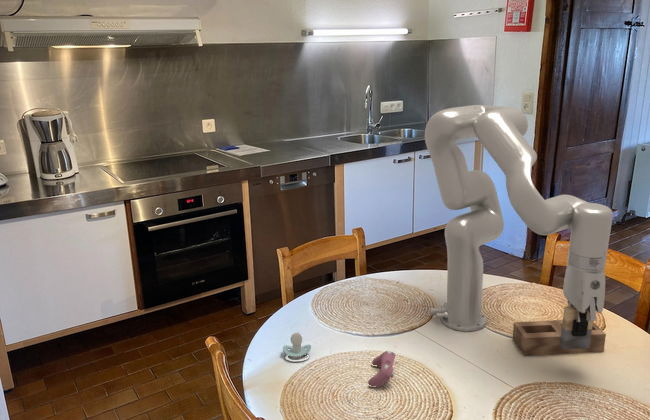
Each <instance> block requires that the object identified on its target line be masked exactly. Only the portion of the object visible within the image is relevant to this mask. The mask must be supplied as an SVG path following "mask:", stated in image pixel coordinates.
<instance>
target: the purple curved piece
mask: <svg viewBox="0 0 650 420" xmlns="http://www.w3.org/2000/svg"><path fill="white" fill-rule="evenodd" d="M395 359H396V353H394V351H388V350H385V351H383V353H381V354H379V355H378V356H377V357H375V358H374V359H373V360H372V361H371V364H373V365H377V366H381V367H380V371H378V373H377V374H375V375H374V376H371V378H370V379H369V380H368V382H367V384H369V385H371V386H379V387H381V386H382V385H384V384H385V383H387V382H389V380H391V379H393V378H394V377H395V373H394V372H393V371H394V367H393V366H394V362H395ZM373 365H372V366H373ZM369 385H368V386H369Z"/></svg>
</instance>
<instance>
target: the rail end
mask: <svg viewBox="0 0 650 420" xmlns="http://www.w3.org/2000/svg"><path fill="white" fill-rule="evenodd" d="M576 312H577V309H576V308H575V307H574V306H568V305H567V306H564V308H563V315H562V320H563V322H562V329H561V337H560V344H559V345H560V346H561V347H562V348H563V349H586V348H589V346H590V339H591V333H592V326H593V322H594V321H590V322H588V328H587V335H586V336H573V335H572V327H573V320H576ZM582 314H586V313H581V315H582Z"/></svg>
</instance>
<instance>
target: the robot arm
mask: <svg viewBox="0 0 650 420" xmlns="http://www.w3.org/2000/svg"><path fill="white" fill-rule="evenodd" d="M528 127H529V122H528V119H527V116H526V115H525V114H524V112H522V110H521V109H518V108H516V107H512V106H498V105H487V104H486V105H485V104H471V105H464V106H463V105H462V106H456V107H450V108H449V107H448V108H445V109H442V110H440V111H437V112H436V113H434V114H433V115H432V116H431V117H430V118H429V119H428V121H427V122H426V125H425V130H424V141H425V145H426V148H427V152H428V154H429V156H430V159H431V161H432V166H433V168H434V172H435V173H434V174H435V178H436V182H437V185H438V189H439V193H440V197H441V201H442V203H443V204H444V206H445V208H447V209H448V210H450V211H459V210H464V209H467V208H470V210H471V211H468V212H466V213H465V212H464V213H462V214H458V215H457V216H454V217H453V218H451V219H450V220H449V221H448V223H447V224H446V225H445V228H444V238H445V245H446V250H447V251H446V253H447V277H446V278H447V279H446V280H447V283H446V284H447V286H446V289H447V290H446V302H444V303H443V306H442V305H441V306H440V307H429V314H430V315H435V317H436V318H440V319H441V320H440V321H441V323H442V324H443V325H444V326H446V327H448V328H449V329H452V330H455V331H460V332H474V331H479V330H481V329H483V328H484V327H486V326H487V322H488V320H487V316H486V315H485V314H484V313H483V312H482V305H483V302H482V301H483V281H484V279H483V278H484V260H483V257H482V254H481V252H480V246H483V245H485V244H487V243H488V244H489V243H491V242H493V241H495V240H497V239H498V238H500V237H501V236H502V234H503V231H504V227H505V226H504V225H505V224H504V222H505V221H504V218H503V217H504V216H503V213H502V209H501V205H500V201H499V196H498V191H497V190H496V189H497V188H496V185H495V183H494V181H493V179H492V178H491V176H489V174H487V173H486V172H485V171H483V170H480V169H478V170H477V169H474V170H469V168H468V165H467V162H466V157H465V155H464V153H463V151H462V150H461V149H460V147H459V146H458V145H457V144H456V142H457V141H459V140H466V139H469V138H470V139H472V138H477V140H478V141H479V142H480V143H481V145H482V146H483V147H484V149H485V150H486V152H487V153H488V154H489V156H490V157H491V158H492V159H493V161H494V162H495V163H496V165H497V166H498V168H500V169H501V171H502V172H503V174H504V176H505V186H506V188H505V189H506V190H507V197H508V199H509V202H510V205H511V207H512V208H513V210H514V211H515V213H516V214H517V215H518V217H519V218H520V220H522V222H523V223H524V224H525V226H527V228H528V229H530V230H531V231H532V232H534V233H535V234H537V235H540V236H550V235H552V234H555V233H557V232H560V231H563V230H567V229H570V230H571V231H570V238H569V245H568V254H567V260H566V264H567V265H566V269H565V274H564V279H563V286H562V294H563V296H564V297H565V299H566V300H567V306H574V307H575V308H576V309H577V312H576V320H573V327H572V335H573V336H586V335H587V328H588V322H590V321H593V322H596V321H597V313H599V314H601V313H603V311H604V307H605V306H604V305H605V298H606V297H605V296H606V273H605V268H606V262H607V255H608V250H609V245H610V244H609V242H610V236H611V230H612V223H613V210H612V208H610V207H609V206H607V205H604V204H602V203H595V202H589V201H586V200H584V199H581V198H579V197H577V196H574V195H570V194H560V195H557V196H553V197H550V198H547V199H544V197H543V196H542V195H541V194H540V192H539V191H538V190H537V188H536V186H535V185H534V183H533V180H532V176H531V172H532V167H533V166H534V165H535V163H536V161H537V159H538V154H537V151H535V149H534V148H533V147H532V146H531V145H530V143H529V141H527V140H526V139H525V137H524V136H525V135H526V133H527V131H528V129H529V128H528ZM596 312H597V313H596ZM581 313H586V314H582V315H581Z"/></svg>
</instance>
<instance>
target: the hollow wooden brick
mask: <svg viewBox="0 0 650 420" xmlns="http://www.w3.org/2000/svg"><path fill="white" fill-rule="evenodd" d="M562 322H563V319H556V320H555V319H553V320H536V321H535V320H534V321H533V320H532V321H531V320H530V321H513V328H512V341H513V342H514V343H515V345H516V346H517V348H518V349H519V351H520V352H521V353H522V355H523V356H524V357H529V356H546V355H548V356H549V355H569V354H585V353H586V354H588V353H589V354H590V353H604V352H605V344H606V335H607V333H605V331H603V330H602V329H601V328H600V327H599V326H598V325H597V324H596V323H595V321H593V326H592V333H591V339H590V346H589V348H586V349H563V348H562V347H561V346H560V345H559V344H560V337H561V329H562Z"/></svg>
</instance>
